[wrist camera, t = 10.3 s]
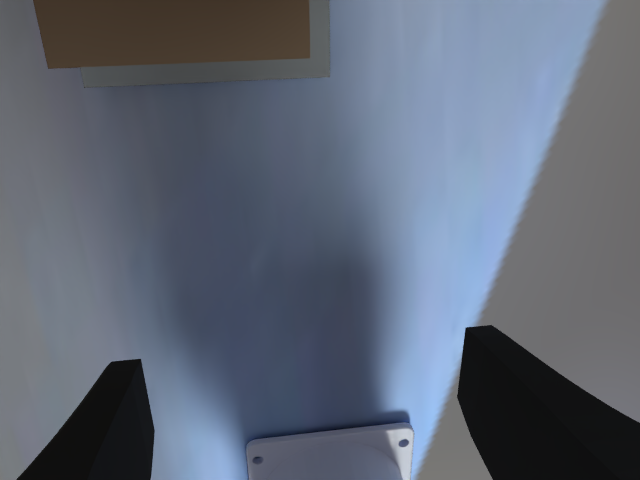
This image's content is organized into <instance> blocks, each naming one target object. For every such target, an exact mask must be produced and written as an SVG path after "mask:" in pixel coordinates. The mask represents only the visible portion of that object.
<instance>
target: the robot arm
mask: <svg viewBox="0 0 640 480" xmlns="http://www.w3.org/2000/svg"><path fill="white" fill-rule="evenodd" d="M457 398H458V401H459V404H460V406H461V409H462V412H463V415H464V418H465V421H466V423H467V426H468V429H469V432H470V434H471V437H472V439H473V441H474V443H475V445H476V447H477V449H478V451H479V453H480V455H481V457H482V459H483V461H484V463H485V465H486V467H487V469H488V471H489V473H490V475H491V477H492V479H493V480H640V423H639V422H637V421H635V420H633V419H631V418H629V417H628V416H626V415H624V414H622V413H620V412H619V411H617V410H615V409H614V408H612V407H610V406H609V405H607V404H605V403H604V402H602V401H601V400H599V399H597V398H596V397H594V396H593V395H591V394H589V393H588V392H586V391H585V390H583V389H581V388H580V387H579V386H577V385H575V384H574V383H572V382H571V381H569V380H568V379H567V378H565V377H564V376H562V375H561V374H559V373H558V372H556V371H555V370H554V369H552V368H550V367H549V366H548V365H546V364H545V363H544V362H542V361H541V360H539V359H538V358H537V357H535V356H534V355H533V354H531V353H530V352H528V351H527V350H526V349H524V348H523V347H522V346H520V345H519V344H517V343H516V342H514V341H513V340H512V339H511V338H509V337H508V336H506V335H505V334H503V333H502V332H501V331H499V330H498V329H496V328H495V327H493V326H492V325H488V326H478V327H467V328H466V330H465V338H464V346H463V354H462V362H461V370H460V379H459V387H458V395H457ZM403 439H405V440H403ZM401 440H403V441H401ZM413 442H414V430H413V428H412V426H411V425H410V424H409V423H404V422H402V423H394V424H385V425H376V426H367V427H359V428H350V429H341V430H332V431H324V432H315V433H306V434H297V435H289V436H280V437H271V438H262V439H255V440H252V441H250V442H249V443H248V444H247V447H246V454H247V464H248V475H249V480H410V479H411V466H412V454H413ZM153 445H154V425H153V420H152V415H151V410H150V404H149V399H148V394H147V389H146V384H145V378H144V373H143V368H142V363H141V359H135V360H124V361H114V362H111V363H110V364H109V365H108V366H107V367H106V368H105V370H104V371H103V373H102V374H101V375H100V377H99V378H98V380H97V381H96V382H95V384H94V385H93V387H92V388H91V389H90V391H89V392H88V394H87V395H86V396H85V398H84V399H83V400H82V402H81V403H80V404H79V406H78V407H77V408H76V410H75V411H74V412H73V413H72V415H71V416H70V417H69V419H68V420H67V421H66V422H65V424H64V425H63V426H62V427H61V429H60V430H59V431H58V433H57V434H56V435H55V436H54V437H53V439H52V440H51V441H50V442H49V443H48V445H47V446H46V447H45V448H44V449H43V450H42V451H41V453H40V454H39V455H38V456H37V457H36V458H35V460H34V461H33V462H32V463H31V464H30V465H29V466H28V468H27V469H26V470H25V471H24V472H23V473H22V474H21V475H20V476H19V477H18V478H17V479H16V480H150V478H151V470H152V459H153ZM257 456H259V457H260V458H255V457H257Z"/></svg>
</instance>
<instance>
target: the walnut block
mask: <svg viewBox="0 0 640 480" xmlns="http://www.w3.org/2000/svg"><path fill="white" fill-rule="evenodd" d="M33 2H34V6H35V11H36V15H37V20H38V24H39V29H40V34H41V38H42V43H43V47H44V52H45V56H46V61H47V65H48V69H51V68H77V67H102V66H128V65H154V64H179V63H205V62H230V61H256V60H282V59H307V58H310V14H309V0H33Z"/></svg>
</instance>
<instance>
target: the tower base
mask: <svg viewBox="0 0 640 480" xmlns="http://www.w3.org/2000/svg"><path fill="white" fill-rule="evenodd" d="M309 14H310V58H307V59H282V60H256V61H230V62H205V63H179V64H154V65H128V66H102V67H80V69H81V74H82V79H83V84H84V88H90V87H113V86H136V85H159V84H182V83H205V82H228V81H251V80H274V79H298V78H321V77H330V19H329V0H309Z"/></svg>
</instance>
